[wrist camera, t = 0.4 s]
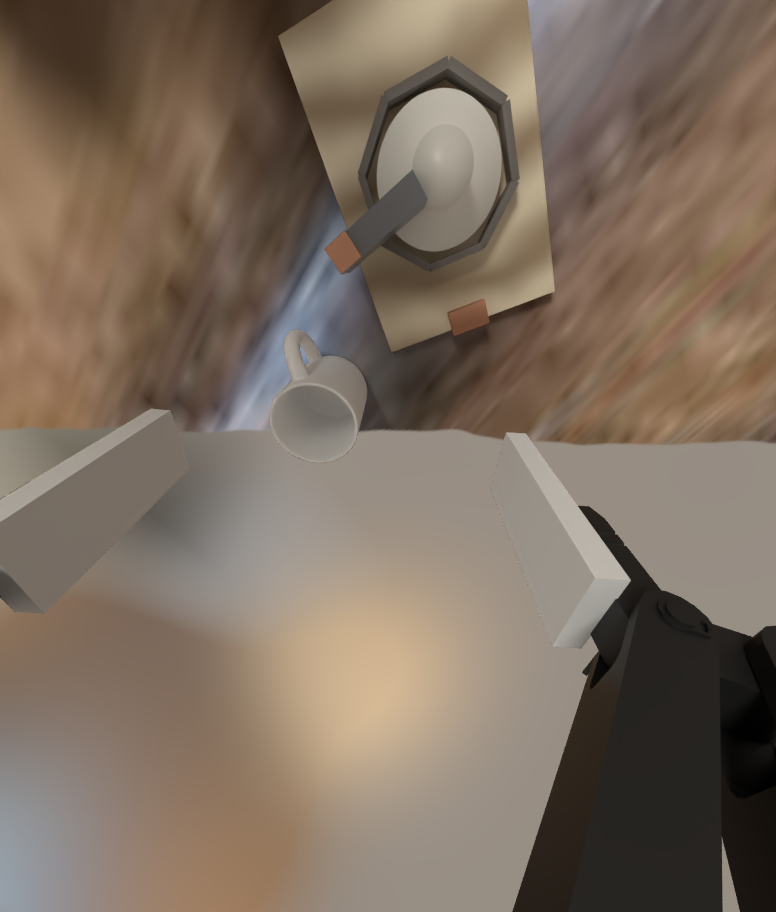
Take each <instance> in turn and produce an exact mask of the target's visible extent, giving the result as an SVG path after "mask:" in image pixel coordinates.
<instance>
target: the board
mask: <svg viewBox="0 0 776 912" xmlns="http://www.w3.org/2000/svg"><path fill="white" fill-rule="evenodd" d="M278 37H279V40H280V43H281V46H282V49H283V51H284V54H285V57H286V60H287V63H288V65H289V68H290V71H291V74H292V76H293V79H294V82H295V85H296V88H297V90H298V93H299V96H300V99H301V102H302V104H303V107H304V110H305V113H306V115H307V118H308V121H309V124H310V127H311V129H312V132H313V135H314V138H315V141H316V143H317V146H318V149H319V152H320V154H321V157H322V160H323V163H324V166H325V168H326V171H327V174H328V177H329V180H330V182H331V185H332V188H333V191H334V193H335V196H336V199H337V202H338V205H339V207H340V210H341V213H342V216H343V219H344V221H345V224H346V227H347V230H348V229H349V228H350V227H351V226H352V225H353V224H354V223H355V222H356V221H357V220H358V219H359V218H360V217H362V216H363V215H364V214H365V213H366V212H367V211H368V210H369V209H370V208H371V207H372V206H373V205H374V204H375V203H377V202H378V201H379V196H378V189H377V164H378V158H379V153H380V149H381V145H382V142H383V140H384V137H385V134H386V132H387V130H388V128H389V126H390V124H391V123H392V121H393V120H394V118H395V117H396V115H397V114H398V113H399V112H400V110H401V109H402V108H403V107H404V106H405V105H406V104H407V103H408V102H410V101H411V100H412V99H414V98H415V97H417V96H418V95H420V94H422V93H424V92H426V91H429V90H433V89H437V88H451V89H457V90H460V91H463V92H465V93H467V94H469V95H470V96H472V97H473V98H475V99H476V100H477V101H478V102H479V103H480V104H481V105H482V106H483V107H484V108H485V109H486V111H487V113H488V114H489V116H490V117H491V119H492V121H493V123H494V125H495V128H496V131H497V134H498V137H499V142H500V147H501V157H502V167H501V178H500V183H499V188H498V192H497V195H496V198H495V201H494V203H493V206H492V208H491V210H490V212H489V214H488V215H487V217H486V219H485V220H484V222H483V223H482V224H481V226H480V227H479V228H478V229H477V230H476V232H475V233H474V234H472V235H471V236H470V237H469V238H468V239H467V240H465V241H464V242H462V243H461V244H459V245H457V246H455V247H453V248H450V249H447V250H443V251H438V252H427V251H421V250H418V249H415V248H413V247H411V246H409V245H408V244H406V243H404V242H403V241H402V240H401V239H400V238H399V237H398V236H397V235H396V234H394V235H393V236H392V237H390V238H389V239H388V240H387V241H386V242H385V243H383V244H382V245H381V246H380V247H379V248H378V249H377V250H375V251H374V252H373V253H372V254H371V255H370V256H369V257H367V258H366V259H365V260H364V261H363V262H362V263H360V266H361V269H362V271H363V274H364V277H365V280H366V283H367V285H368V288H369V291H370V294H371V297H372V299H373V302H374V305H375V308H376V310H377V313H378V316H379V319H380V322H381V324H382V327H383V330H384V333H385V336H386V338H387V341H388V344H389V347H390V349H391V352H394V351H397V350H400V349H402V348H405V347H408V346H410V345H413V344H416V343H418V342H421V341H424V340H426V339H429V338H432V337H434V336H437V335H440V334H442V333H445V332H448V331H450V330H452V333H453V335H454V336H456V335H458V334H461V333H464V332H466V331H469V330H472V329H475V328H477V327H480V326H483V325H485V324H488V323H490V322H489V317H488V316H490V315H493V314H496V313H498V312H501V311H504V310H506V309H509V308H512V307H514V306H517V305H520V304H522V303H525V302H528V301H530V300H533V299H536V298H538V297H541V296H544V295H546V294H549V293H552V292H554V291H555V289H554V278H553V267H552V257H551V246H550V236H549V225H548V214H547V204H546V193H545V183H544V172H543V162H542V151H541V140H540V130H539V119H538V109H537V98H536V87H535V77H534V66H533V56H532V45H531V34H530V24H529V13H528V3H527V0H332V1H331V2H329V3H328V4H326V5H325V6H323V7H322V8H320V9H319V10H317V11H316V12H314V13H313V14H311V15H310V16H308V17H306V18H305V19H303V20H302V21H300V22H299V23H297V24H296V25H294V26H293V27H291V28H290V29H288V30H287V31H285V32H284V33H282V34H281V35H279V36H278Z"/></svg>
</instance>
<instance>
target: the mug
mask: <svg viewBox="0 0 776 912" xmlns="http://www.w3.org/2000/svg"><path fill="white" fill-rule="evenodd" d="M300 346H301V347H302V348H303V350H304V351H305V353H306V355H307V357H308V359H309V363H308V364H307V365H306V366H305V364H304V362H303V359H302V356H301V352H300ZM284 353H285V359H286V363H287V366H288V369H289V372H290V375H291V377H292V380H291V381H290V382H289V383H288V385H287V386H286V387H285V388H284V389H283V390H282V391H281V392H280V393H279V394H278V395H277V396H276V398H275V399H274V401H273V403H272V405H271V409H270V426H271V429H272V432H273V434H274V436H275V438H276V439H277V441H278V442H279V444H280V445H281V446H282V447H283V448H284V449H285V450H287V451H288V452H289V453H290V454H292V455H293V456H295V457H297V458H299V459H302V460H305V461H308V462H314V463H325V462H331V461H334V460H337V459H339V458H341V457H342V456H344V455H345V454H347V453H348V452H349V451H350V449H351V448H352V447H353V445H354V444H355V441H356V439H357V435H358V432H359V428H360V424H361V420H362V416H363V412H364V408H365V404H366V400H367V386H366V382H365V379H364V377H363V375H362V373H361V372H360V370H359V369H358V368H357V367H356V366H355V365H354V364H353V363H351V362H350V361H348V360H346V359H344V358H341V357H338V356H321V354H320V352H319V350H318V348H317V346H316V344H315V343H314V341H313V340H312V339H311V337H310V336H309V335H308V334H306V333H305V332H304V331H302V330H298V329H296V330H292V331H290V332H289V333H288V334H287V336H286V338H285V342H284Z"/></svg>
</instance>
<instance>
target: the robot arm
mask: <svg viewBox="0 0 776 912" xmlns="http://www.w3.org/2000/svg"><path fill="white" fill-rule="evenodd" d="M188 470H189V465H188V462H187V459H186V456H185V453H184V450H183V447H182V444H181V441H180V438H179V435H178V432H177V429H176V426H175V423H174V420H173V417H172V414H171V411H170V410H157V409H150V410H148V411H147V412H145V413H143V414H142V415H140V416H138V417H137V418H135V419H133V420H132V421H130V422H128V423H127V424H125V425H123V426H122V427H120V428H118V429H117V430H115V431H113V432H112V433H110V434H108V435H107V436H105V437H103V438H102V439H100V440H98V441H97V442H95V443H93V444H92V445H90V446H88V447H87V448H85V449H83V450H82V451H80V452H78V453H77V454H75V455H73V456H72V457H70V458H68V459H67V460H65V461H63V462H62V463H60V464H58V465H57V466H55V467H53V468H52V469H50V470H48V471H47V472H45V473H43V474H42V475H40V476H38V477H37V478H35V479H33V480H32V481H30V482H28V483H26V484H24V485H23V486H21V487H19V488H18V489H16V490H14V491H13V492H11V493H9V494H8V495H7V496H4V497H3V498H1V499H0V598H1V599H2V600H3V601H4V602H5V603H6V604H7V605H8V606H9V607H10V608H11V609H12V610H13V611H14V612H26V613H41V614H44V613H45V612H46V611H47V610H48V609H49V608H50V607H51V606H52V605H53V604H54V603H55V602H56V601H57V600H58V599H59V598H60V597H61V596H62V595H63V594H64V593H65V592H66V591H67V590H68V589H69V588H70V587H71V586H72V585H73V584H74V583H75V582H76V581H77V580H78V579H79V578H80V577H81V576H83V575H84V573H85V572H87V571H88V569H90V568H91V566H93V565H94V563H95V562H97V560H99V559H100V558H101V557H102V556H103V555H104V554H105V553H106V551H108V550H109V549H110V548H111V547H112V546H113V545H114V544H115V543H116V541H118V539H120V538H121V537H122V536H123V535H124V533H126V532H127V531H128V530H129V528H131V527H132V526H133V525H134V524H135V523H136V522H137V521H138V520H139V519H140V518H141V517H142V516H143V515H144V514H145V513H146V512H147V511H148V510H149V509H150V508H151V507H152V506H153V505H154V504H155V503H156V502H157V501H158V500H159V499H160V498H161V497H162V496H163V495H164V494H165V493H166V492H167V491H168V490H169V489H170V488H171V487H172V486H173V485H174V484H175V483H176V482H177V481H178V480H179V479H180V478H181V477H182V476H183V475H184V474H185V473H186V472H187V471H188ZM490 489H491V492H492V494H493V497H494V499H495V502H496V505H497V507H498V510H499V512H500V515H501V517H502V520H503V523H504V525H505V528H506V530H507V533H508V535H509V538H510V540H511V543H512V545H513V548H514V551H515V553H516V556H517V558H518V561H519V563H520V566H521V568H522V571H523V574H524V576H525V578H526V581H527V584H528V586H529V589H530V592H531V594H532V597H533V599H534V602H535V604H536V607H537V609H538V612H539V615H540V617H541V620H542V622H543V625H544V627H545V630H546V633H547V635H548V638H549V640H550V643H551V645H552V646H553V647H568V648H582V647H583V646H584V644H585V643H586V642H587V640H588V639H589V637H590V636H592V638H593V640H594V642H595V644H596V646H597V648H598V650H599V652H598V653H597V654H596V655H595V656H594V658H593V659H592V660H591V661H590V663H589V664H588V665H587V667H586V668H585V669H584V671H583V672H582V673H583V674H585V675H586V676H587V675H588V677H587V680H586V683H585V687H584V690H583V693H582V696H581V699H580V702H579V705H578V709H577V712H576V715H575V718H574V721H573V724H572V727H571V730H570V734H569V737H568V740H567V743H566V746H565V749H564V752H563V755H562V758H561V762H560V765H559V768H558V771H557V774H556V777H555V780H554V784H553V787H552V790H551V793H550V796H549V799H548V802H547V806H546V808H545V812H544V815H543V818H542V821H541V824H540V827H539V830H538V833H537V836H536V840H535V843H534V846H533V849H532V852H531V855H530V858H529V861H528V865H527V868H526V871H525V874H524V877H523V881H522V884H521V887H520V890H519V893H518V896H517V899H516V902H515V905H514V908H513V911H512V912H722V839H723V843H724V847H725V851H726V855H727V859H728V863H729V868H730V872H731V876H732V880H733V884H734V888H735V892H736V897H737V901H738V905H739V909H740V912H776V626H766V627H765V628H763V630H761V631H760V632H759V633H757V634H756V635H755V636H754V637H751V636H747V635H745V634H741V633H739V632H735V631H732V630H729V629H726V628H723V627H720V626H717V625H714V624H712V623H711V622H710V620H709V619H708V618H707V617H706V616H705V615H704V614H703V613H702V612H701V611H700V610H699V609H697V608H696V607H695V606H694V605H692V604H691V603H689V602H688V601H686V600H684V599H683V598H681V597H679V596H677V595H674V594H671V593H669V592H667V591H661V590H660V588H659V587H658V586H657V584H656V583H655V582H654V581H653V579H652V578H651V577H650V576H649V574H648V573H647V572H646V570H645V569H644V568H643V567H642V565H641V564H640V563H639V562H638V560H637V559H636V558H635V557H634V555H633V554H632V553H631V551H630V550H629V549H628V548H627V547H626V546H624V543H623V541H622V540H621V539H620V537H619V536H618V535H615V531H614V530H613V529H612V527H611V526H610V525H609V524H608V522H607V521H606V520H605V519H604V518H603V517H602V516H600V515H599V514H598V513H597V512H595V511H594V510H593V509H592V508H590V507H589V506H577V504H576V503H575V502H574V500H573V499H572V498H571V496H570V495H569V493H568V492H567V491H566V489H565V488H564V486H563V485H562V483H561V482H560V481H559V479H558V478H557V477H556V475H555V474H554V472H553V471H552V470H551V468H550V467H549V465H548V464H547V463H546V461H545V460H544V458H543V457H542V456H541V454H540V453H539V451H538V450H537V449H536V447H535V446H534V444H533V443H532V442H531V440H530V439H529V438H528V436H527V435H526V434H523V433H508V432H506V435H505V438H504V442H503V445H502V449H501V452H500V456H499V459H498V463H497V466H496V470H495V473H494V476H493V480H492V483H491V487H490Z"/></svg>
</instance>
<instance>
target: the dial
mask: <svg viewBox="0 0 776 912" xmlns="http://www.w3.org/2000/svg"><path fill="white" fill-rule="evenodd" d="M501 167H502V157H501V147H500V142H499V137H498V134H497V131H496V128H495V125H494V123H493V121H492V119H491V117H490V116H489V114H488V113H487V111H486V109H485V108H484V107H483V106H482V105H481V104H480V103H479V102H478V101H477V100H476V99H475V98H473V97H472V96H470V95H469V94H467V93H465V92H463V91H460V90H457V89H451V88H437V89H433V90H429V91H426V92H424V93H422V94H420V95H418V96H417V97H415V98H414V99H412V100H411V101H410V102H408V103H407V104H406V105H405V106H404V107H403V108H402V109H401V110H400V112H399V113H398V114H397V115H396V117H395V118H394V120H393V121H392V123H391V124H390V126H389V128H388V130H387V132H386V134H385V137H384V140H383V142H382V145H381V149H380V153H379V158H378V164H377V189H378V196H379V201H378V202H377V203H375V204H374V205H373V206H372V207H371V208H370V209H369V210H368V211H367V212H366V213H365V214H364V215H363V216H362V217H360V218H359V219H358V220H357V221H356V222H355V223H354V224H353V225H352V226H351V227H350V228H349V229H348V230H346V231H345V230H344V231H343V232H342V233H341V234H340V235H339V236H338V237H337V238H336V239H335V240H334V241H333V242H332V243H330V244H329V245H328V246H327V247H326V248H325V249H324V250H325V251H326V253H327V254H328V255H329V257H330V258H331V260H332V261H333V263H334V264H335V266H336V267H337V269H338V270H339V272H340V273H341V274H344V273H350V272H351V271H352V270H354V269H355V268H356V267H357V266H358V265H359V264H360V263H362V262H363V261H364V260H365V259H366V258H367V257H369V256H370V255H371V254H372V253H373V252H374V251H375V250H377V249H378V248H379V247H380V246H381V245H382V244H383V243H385V242H386V241H387V240H388V239H389V238H390V237H392V236H393V235H394V234H396V235H397V236H398V237H399V238H400V239H401V240H402V241H403V242H404V243H406V244H408V245H409V246H411V247H413V248H415V249H418V250H421V251H427V252H438V251H443V250H447V249H450V248H453V247H455V246H457V245H459V244H461V243H462V242H464V241H465V240H467V239H468V238H469V237H470V236H471V235H472V234H474V233H475V232H476V230H477V229H478V228H479V227H480V226H481V224H482V223H483V222H484V220H485V219H486V217H487V215H488V214H489V212H490V210H491V208H492V206H493V203H494V201H495V198H496V195H497V192H498V188H499V183H500V178H501Z"/></svg>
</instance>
